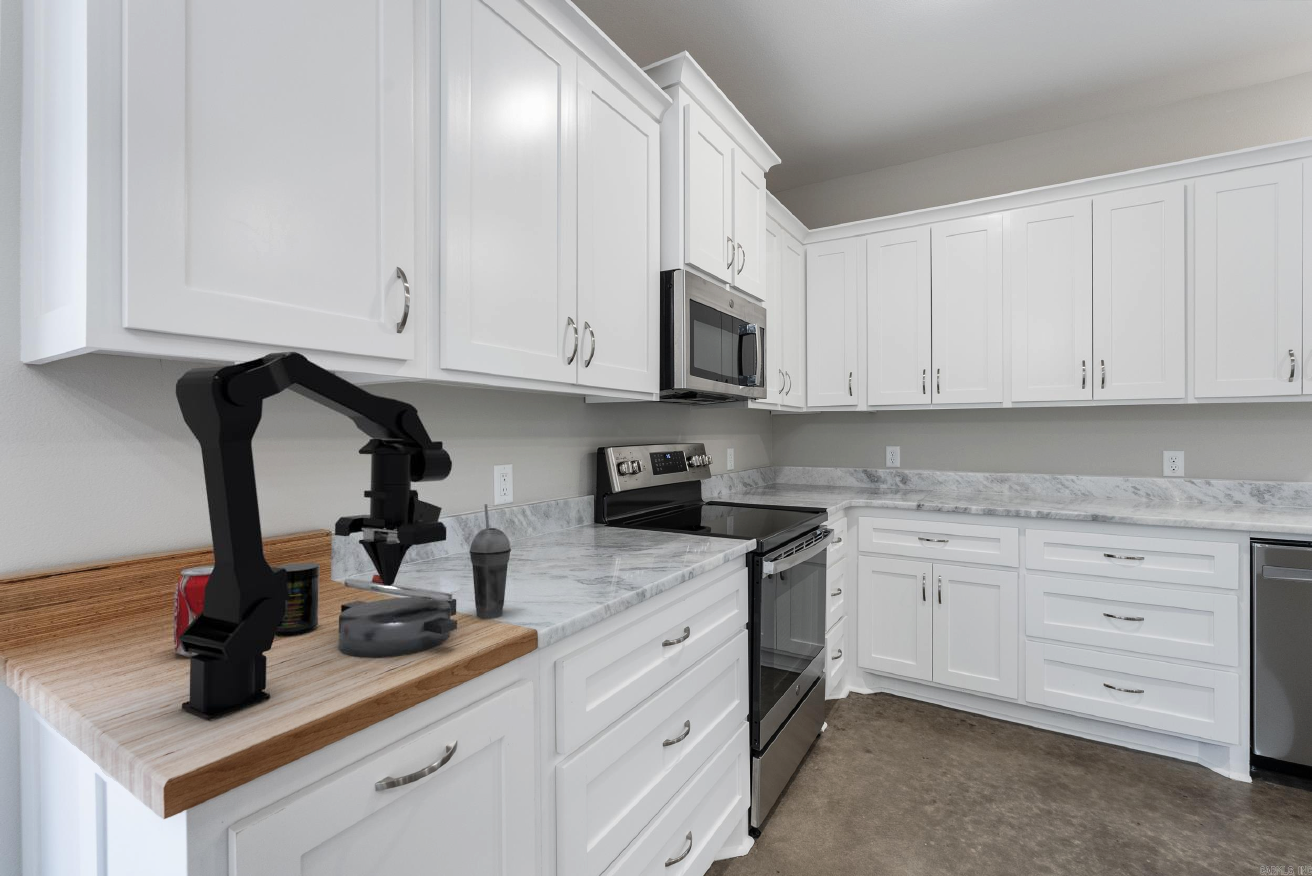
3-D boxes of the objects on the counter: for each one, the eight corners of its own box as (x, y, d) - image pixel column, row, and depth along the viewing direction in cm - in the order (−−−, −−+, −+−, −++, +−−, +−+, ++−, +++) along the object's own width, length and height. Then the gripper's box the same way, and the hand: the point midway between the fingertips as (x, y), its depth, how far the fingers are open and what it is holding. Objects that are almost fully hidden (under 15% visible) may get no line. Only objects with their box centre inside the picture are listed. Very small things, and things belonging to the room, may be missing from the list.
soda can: (201, 661, 82) (202, 575, 82) (160, 657, 83) (161, 573, 84) (246, 644, 89) (247, 565, 89) (207, 641, 90) (208, 563, 90)
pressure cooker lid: (392, 595, 82) (396, 579, 83) (320, 581, 89) (325, 567, 90) (472, 603, 96) (475, 589, 96) (404, 591, 103) (407, 578, 104)
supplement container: (322, 631, 96) (323, 567, 96) (273, 640, 91) (274, 572, 91) (314, 621, 101) (315, 560, 101) (267, 629, 96) (268, 565, 96)
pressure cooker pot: (403, 669, 80) (404, 636, 80) (301, 642, 90) (301, 612, 90) (495, 632, 96) (496, 604, 96) (399, 612, 106) (400, 587, 106)
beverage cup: (519, 613, 107) (520, 503, 107) (487, 623, 101) (489, 506, 101) (491, 606, 111) (492, 500, 111) (459, 616, 104) (461, 503, 105)
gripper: (473, 483, 94) (471, 581, 94) (394, 479, 103) (392, 569, 102) (416, 487, 84) (414, 596, 84) (334, 482, 93) (331, 581, 92)
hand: (388, 584), depth 91 cm, fingers closed, pressing on pressure cooker lid
